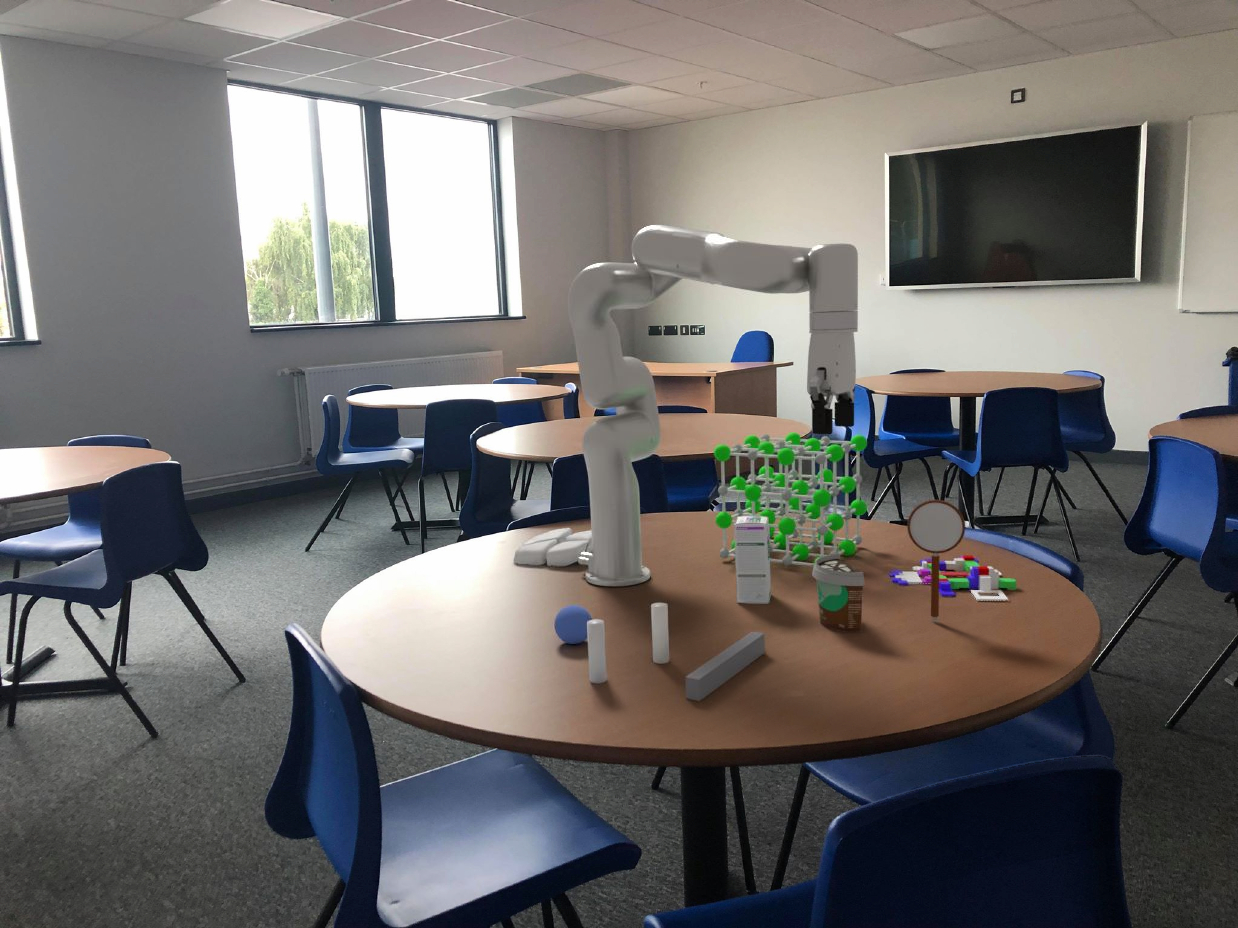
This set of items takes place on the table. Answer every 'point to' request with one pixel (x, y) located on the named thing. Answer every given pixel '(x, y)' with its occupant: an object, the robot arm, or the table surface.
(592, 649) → the grey pin
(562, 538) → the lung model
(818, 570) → the food container
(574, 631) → the ball
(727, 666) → the stopper wall
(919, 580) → the building block set
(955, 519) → the magnifying glass
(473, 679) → the table surface
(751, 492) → the molecular structure model
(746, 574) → the syrup box
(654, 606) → the white pin
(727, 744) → the table surface
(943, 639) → the table surface
